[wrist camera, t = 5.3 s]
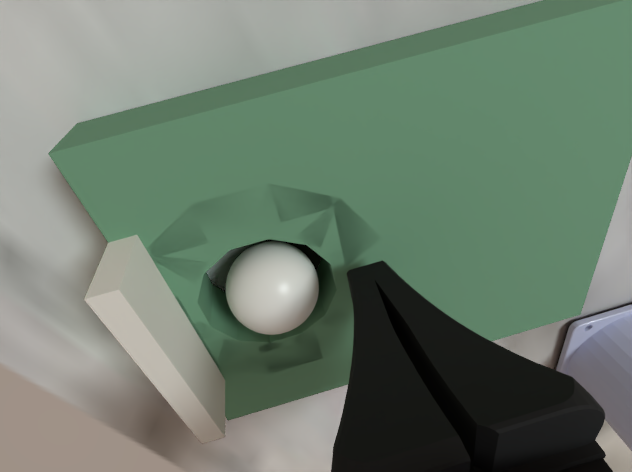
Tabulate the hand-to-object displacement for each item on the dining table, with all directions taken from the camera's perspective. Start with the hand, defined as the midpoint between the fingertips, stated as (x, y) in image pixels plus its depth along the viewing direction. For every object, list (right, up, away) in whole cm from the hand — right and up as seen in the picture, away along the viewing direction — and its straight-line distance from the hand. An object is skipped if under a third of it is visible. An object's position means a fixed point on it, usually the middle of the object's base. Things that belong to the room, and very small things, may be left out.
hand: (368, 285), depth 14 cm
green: (+1, +2, +3) cm, 4 cm away
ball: (-4, 0, +1) cm, 4 cm away
